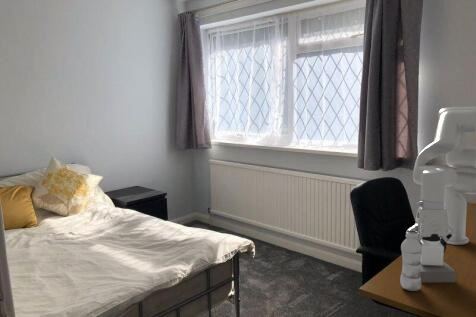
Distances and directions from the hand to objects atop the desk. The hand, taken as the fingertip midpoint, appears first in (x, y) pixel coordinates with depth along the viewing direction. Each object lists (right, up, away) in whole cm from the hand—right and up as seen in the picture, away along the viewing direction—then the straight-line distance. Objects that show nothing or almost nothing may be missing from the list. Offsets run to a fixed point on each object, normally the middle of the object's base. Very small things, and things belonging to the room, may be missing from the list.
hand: (430, 251), depth 140 cm
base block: (0, -9, +1) cm, 9 cm away
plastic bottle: (-11, -11, -9) cm, 18 cm away
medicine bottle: (0, -4, +1) cm, 4 cm away
